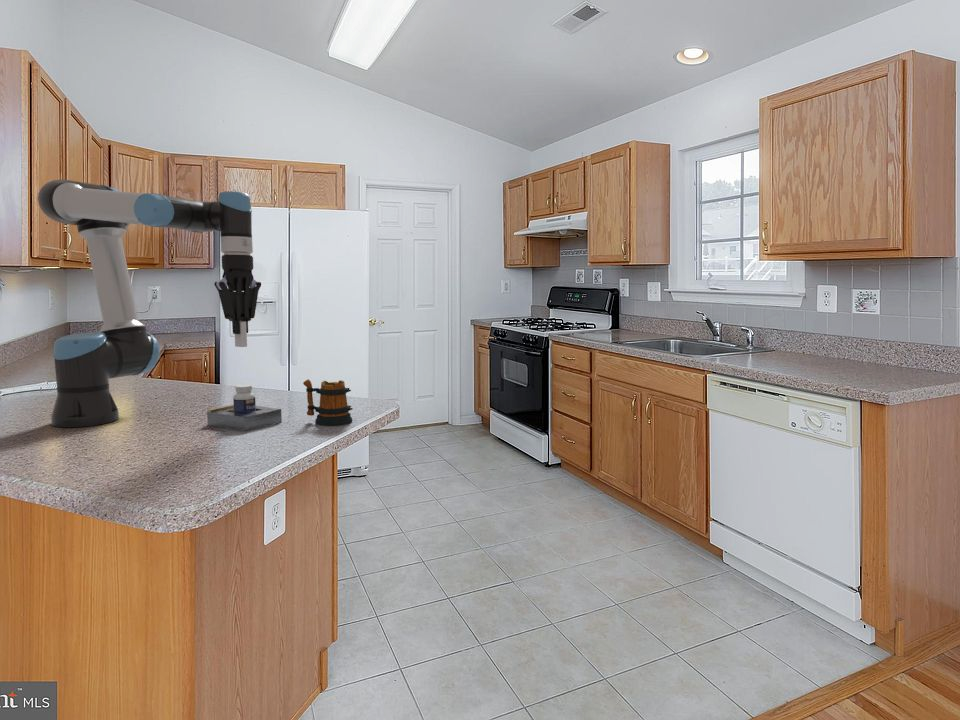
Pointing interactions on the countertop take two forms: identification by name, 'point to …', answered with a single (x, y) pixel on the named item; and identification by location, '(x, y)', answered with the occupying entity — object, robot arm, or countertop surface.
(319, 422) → the mug
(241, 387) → the pill bottle
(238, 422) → the jig
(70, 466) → the countertop surface
